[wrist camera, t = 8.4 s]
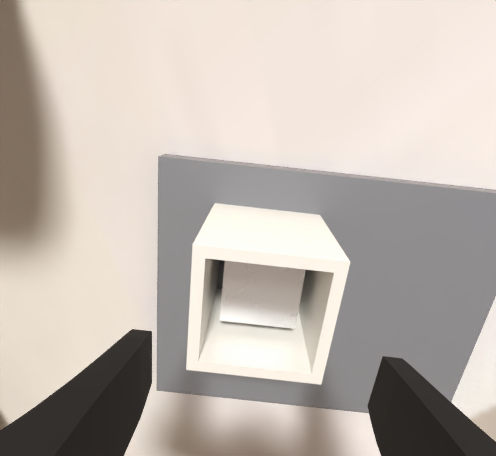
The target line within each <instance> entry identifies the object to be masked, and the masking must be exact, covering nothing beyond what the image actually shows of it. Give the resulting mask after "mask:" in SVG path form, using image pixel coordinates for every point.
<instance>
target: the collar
mask: <svg viewBox="0 0 496 456" xmlns="http://www.w3.org/2000/svg"><path fill="white" fill-rule="evenodd" d="M219 260H225V261H234V262H243V263H252V264H260V265H269V266H278V267H287V268H296V269H305V270H306V271H305V277H304V282H303V288H302V293H301V299H300V304H299V310H298V315H297V321H296V326H295V329H293V328H284V327H274V326H265V325H256V324H246V323H237V322H228V321H220V310H221V298H222V289H217V279H218V267H219ZM349 266H350V261H349V259H348V257H347V256H346V254H345V253H344V251H343V250H342V248H341V247H340V245H339V244H338V242H337V240H336V239H335V237H334V236H333V234H332V233H331V231H330V230H329V228H328V227H327V225H326V223H325V222H324V220H323V219H322V217H321V216H320V215H317V214H308V213H299V212H290V211H281V210H272V209H263V208H254V207H246V206H237V205H228V204H219V203H214V205H213V207H212V209H211V211H210V213H209V215H208V216H207V218H206V220H205V222H204V224H203V226H202V228H201V230H200V231H199V233H198V235H197V237H196V239H195V241H194V243H193V245H192V265H191V284H190V304H189V323H188V343H187V362H186V370H193V371H202V372H211V373H220V374H229V375H238V376H247V377H256V378H265V379H274V380H283V381H293V382H302V383H311V384H320V385H321V384H322V380H323V375H324V371H325V367H326V363H327V359H328V354H329V350H330V346H331V342H332V338H333V333H334V329H335V325H336V321H337V317H338V312H339V308H340V304H341V300H342V296H343V291H344V287H345V283H346V279H347V275H348V270H349Z"/></svg>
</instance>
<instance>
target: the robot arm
mask: <svg viewBox="0 0 496 456" xmlns="http://www.w3.org/2000/svg"><path fill="white" fill-rule="evenodd" d="M151 384H152V331H144V330H135V329H132V330H131V331H129V332H128V333H127V334H126V335H124V336H123V337H122V338H121V339H120V340H119V341H117V342H116V343H115V344H114V345H113V346H112V347H110V348H109V349H108V350H107V351H106V352H105V353H103V354H102V355H101V356H100V357H99V358H97V359H96V360H95V361H94V362H93V363H91V364H90V365H89V366H88V367H86V368H85V369H84V370H83V371H82V372H80V373H79V374H78V375H77V376H75V377H74V378H73V379H72V380H70V381H69V382H68V383H66V384H65V385H64V386H62V387H61V388H60V389H58V390H57V391H56V392H54V393H53V394H52V395H50V396H49V397H48V398H46V399H45V400H44V401H42V402H41V403H40V404H38V405H37V406H36V407H34V408H33V409H31V410H30V411H28V412H27V413H26V414H24V415H23V416H21V417H20V418H18V419H17V420H15V421H14V422H13V423H11V424H9V425H8V426H6V427H5V428H3V429H2V430H0V456H124V454H125V452H126V449H127V447H128V445H129V443H130V440H131V438H132V436H133V433H134V431H135V429H136V427H137V424H138V422H139V420H140V417H141V415H142V412H143V409H144V406H145V403H146V399H147V396H148V393H149V390H150V387H151ZM368 410H369V415H370V419H371V423H372V427H373V431H374V435H375V438H376V442H377V445H378V448H379V451H380V453H381V456H496V442H495V441H494V440H493V439H491V438H490V437H489V436H488V435H487V434H486V433H485V432H484V431H482V430H481V429H480V428H479V427H478V426H476V425H475V424H474V423H473V422H472V421H471V420H470V419H469V418H468V417H467V416H465V415H464V414H463V413H462V412H461V411H460V410H459V409H458V408H457V407H455V406H454V405H453V404H452V403H451V402H450V401H449V400H448V399H447V398H446V397H445V396H443V395H442V394H441V393H440V392H439V391H438V390H437V389H436V388H435V387H434V386H433V385H432V384H430V383H429V382H428V381H427V380H426V379H425V378H424V377H423V376H422V375H421V374H420V373H419V372H417V371H416V370H415V369H414V368H413V367H412V366H411V365H410V364H408V363H407V362H406V361H405V360H404V359H403V358H395V357H386V356H383V357H382V360H381V363H380V366H379V370H378V373H377V376H376V379H375V383H374V386H373V389H372V393H371V396H370V399H369V402H368Z"/></svg>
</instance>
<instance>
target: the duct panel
mask: <svg viewBox="0 0 496 456" xmlns="http://www.w3.org/2000/svg"><path fill="white" fill-rule="evenodd" d="M214 203H219V204H228V205H237V206H246V207H254V208H263V209H272V210H281V211H290V212H299V213H308V214H317V215H320V216H321V217H322V219H323V220H324V222H325V223H326V225H327V227H328V228H329V230H330V231H331V233H332V234H333V236H334V237H335V239H336V240H337V242H338V244H339V245H340V247H341V248H342V250H343V251H344V253H345V254H346V256H347V257H348V259H349V261H350V266H349V270H348V275H347V279H346V283H345V287H344V291H343V296H342V300H341V304H340V308H339V312H338V317H337V321H336V325H335V329H334V333H333V338H332V342H331V346H330V350H329V354H328V359H327V363H326V367H325V371H324V375H323V380H322V384H321V385H320V384H311V383H302V382H293V381H283V380H274V379H265V378H256V377H247V376H238V375H229V374H220V373H211V372H202V371H193V370H186V362H187V343H188V323H189V304H190V284H191V265H192V245H193V243H194V241H195V239H196V237H197V235H198V233H199V231H200V230H201V228H202V226H203V224H204V222H205V220H206V218H207V216H208V215H209V213H210V211H211V209H212V207H213V205H214ZM224 264H225V260H219V267H218V279H217V289H222V287H223V275H224ZM495 296H496V190H491V189H482V188H472V187H463V186H454V185H445V184H436V183H426V182H417V181H408V180H399V179H390V178H380V177H371V176H362V175H353V174H344V173H334V172H325V171H316V170H307V169H298V168H288V167H279V166H270V165H261V164H252V163H242V162H233V161H224V160H215V159H206V158H196V157H187V156H178V155H169V154H164V155H161V156H158V282H157V391H167V392H176V393H185V394H195V395H204V396H213V397H223V398H232V399H241V400H251V401H260V402H269V403H279V404H288V405H297V406H307V407H316V408H325V409H335V410H344V411H353V412H363V413H369V410H368V402H369V399H370V396H371V393H372V389H373V386H374V383H375V379H376V376H377V373H378V370H379V366H380V363H381V360H382V357H383V356H386V357H395V358H403V359H404V360H405V361H406V362H407V363H408V364H410V365H411V366H412V367H413V368H414V369H415V370H416V371H417V372H419V373H420V374H421V375H422V376H423V377H424V378H425V379H426V380H427V381H428V382H429V383H430V384H432V385H433V386H434V387H435V388H436V389H437V390H438V391H439V392H440V393H441V394H442V395H443V396H445V397H446V398H447V399H448V400H449V401H450V402H451V401H452V398H453V396H454V394H455V391H456V389H457V387H458V384H459V382H460V379H461V377H462V375H463V372H464V370H465V368H466V365H467V363H468V360H469V358H470V356H471V353H472V351H473V349H474V346H475V344H476V341H477V339H478V337H479V334H480V332H481V330H482V327H483V325H484V322H485V320H486V318H487V315H488V313H489V311H490V308H491V306H492V303H493V301H494V299H495Z"/></svg>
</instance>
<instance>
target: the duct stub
mask: <svg viewBox="0 0 496 456" xmlns="http://www.w3.org/2000/svg"><path fill="white" fill-rule="evenodd" d="M305 271H306V270H305V269H296V268H287V267H278V266H269V265H260V264H252V263H243V262H234V261H225V264H224V275H223V287H222V298H221V310H220V321H228V322H237V323H246V324H256V325H265V326H274V327H284V328H293V329H295V326H296V321H297V315H298V310H299V304H300V299H301V293H302V288H303V282H304V277H305Z"/></svg>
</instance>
